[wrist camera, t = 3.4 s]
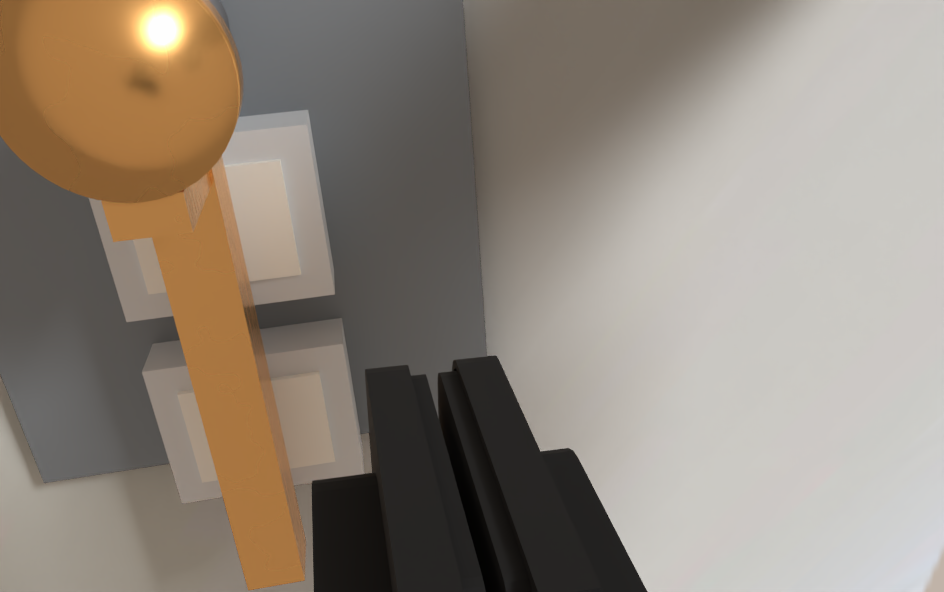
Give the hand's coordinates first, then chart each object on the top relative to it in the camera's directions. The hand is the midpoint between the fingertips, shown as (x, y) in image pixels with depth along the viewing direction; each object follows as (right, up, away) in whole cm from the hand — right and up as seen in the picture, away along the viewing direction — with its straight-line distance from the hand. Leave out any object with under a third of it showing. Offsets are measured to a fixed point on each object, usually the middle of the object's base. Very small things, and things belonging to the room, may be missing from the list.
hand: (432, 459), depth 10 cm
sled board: (-8, +4, +19) cm, 21 cm away
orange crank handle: (-8, +2, +15) cm, 17 cm away
